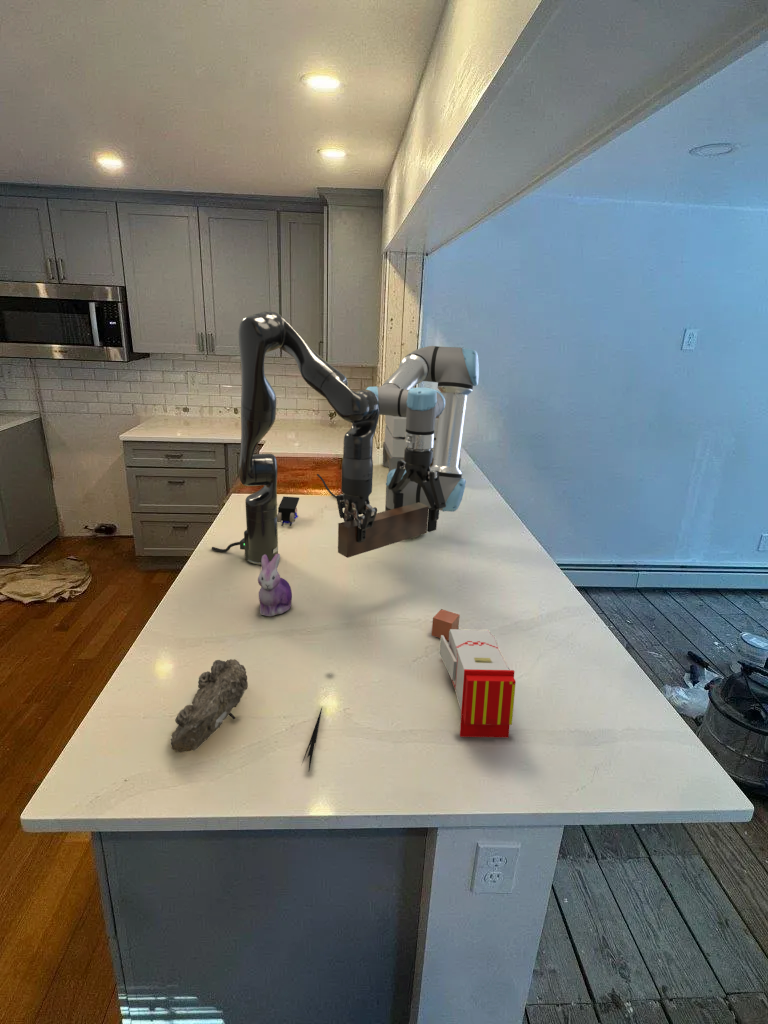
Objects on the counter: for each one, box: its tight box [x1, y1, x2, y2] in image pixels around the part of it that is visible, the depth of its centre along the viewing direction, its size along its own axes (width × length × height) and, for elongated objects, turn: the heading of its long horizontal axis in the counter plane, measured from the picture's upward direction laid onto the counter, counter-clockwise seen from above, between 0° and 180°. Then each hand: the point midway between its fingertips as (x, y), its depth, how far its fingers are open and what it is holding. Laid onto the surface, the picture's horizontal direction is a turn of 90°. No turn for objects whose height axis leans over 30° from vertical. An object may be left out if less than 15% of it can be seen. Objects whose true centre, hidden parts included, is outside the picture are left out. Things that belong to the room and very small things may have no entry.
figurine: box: [257, 553, 293, 617], centre depth 145 cm, size 9×10×15 cm
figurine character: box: [277, 495, 300, 527], centre depth 205 cm, size 7×8×15 cm
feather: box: [301, 673, 332, 771], centre depth 108 cm, size 2×28×2 cm
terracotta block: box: [431, 608, 461, 642], centre depth 139 cm, size 5×5×5 cm
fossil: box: [170, 658, 249, 753], centre depth 106 cm, size 22×10×15 cm
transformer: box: [381, 415, 463, 473], centre depth 268 cm, size 34×33×41 cm
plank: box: [337, 502, 429, 558], centre depth 150 cm, size 28×4×8 cm, turn 131°
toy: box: [438, 628, 517, 738], centre depth 117 cm, size 12×13×30 cm
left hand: (355, 538), depth 144 cm, fingers closed on plank, 4 cm apart
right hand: (414, 523), depth 157 cm, fingers open, 13 cm apart
